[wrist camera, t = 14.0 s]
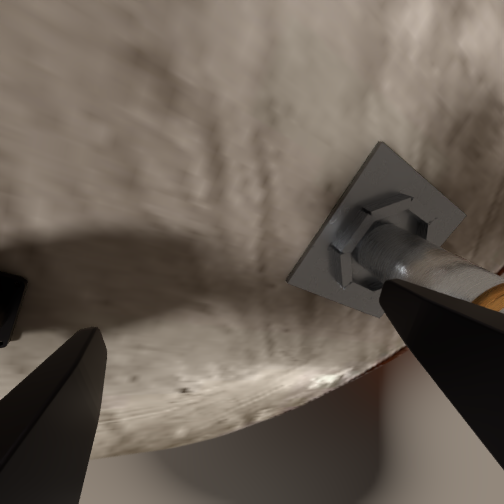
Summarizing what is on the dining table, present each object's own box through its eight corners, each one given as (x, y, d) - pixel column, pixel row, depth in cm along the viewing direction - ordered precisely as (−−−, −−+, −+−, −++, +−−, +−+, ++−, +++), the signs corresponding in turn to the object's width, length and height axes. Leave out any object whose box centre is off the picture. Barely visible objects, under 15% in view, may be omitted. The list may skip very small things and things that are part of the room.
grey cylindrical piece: (367, 279, 27) (488, 381, 17) (348, 247, 24) (479, 344, 14) (409, 248, 26) (560, 333, 16) (394, 211, 24) (564, 285, 13)
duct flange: (376, 315, 31) (386, 325, 29) (285, 280, 25) (292, 290, 23) (462, 213, 27) (478, 219, 25) (378, 141, 21) (393, 143, 19)
